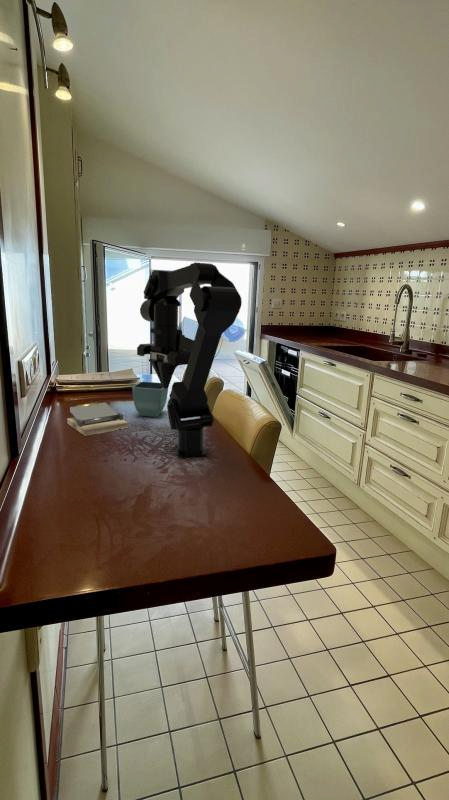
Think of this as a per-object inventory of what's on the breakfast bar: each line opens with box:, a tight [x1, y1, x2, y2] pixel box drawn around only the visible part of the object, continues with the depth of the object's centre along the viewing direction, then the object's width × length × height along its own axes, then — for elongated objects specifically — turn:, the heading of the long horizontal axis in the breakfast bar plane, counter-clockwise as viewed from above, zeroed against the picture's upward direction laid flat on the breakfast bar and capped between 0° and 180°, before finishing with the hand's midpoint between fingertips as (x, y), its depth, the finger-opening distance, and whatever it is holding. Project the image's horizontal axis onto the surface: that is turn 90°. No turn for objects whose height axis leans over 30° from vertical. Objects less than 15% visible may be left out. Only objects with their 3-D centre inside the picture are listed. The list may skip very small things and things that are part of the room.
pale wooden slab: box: [66, 412, 130, 437], centre depth 114 cm, size 12×12×3 cm
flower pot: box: [131, 381, 169, 418], centre depth 125 cm, size 9×9×9 cm
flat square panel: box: [69, 402, 119, 425], centre depth 115 cm, size 2×10×10 cm
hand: (165, 387), depth 107 cm, fingers closed
